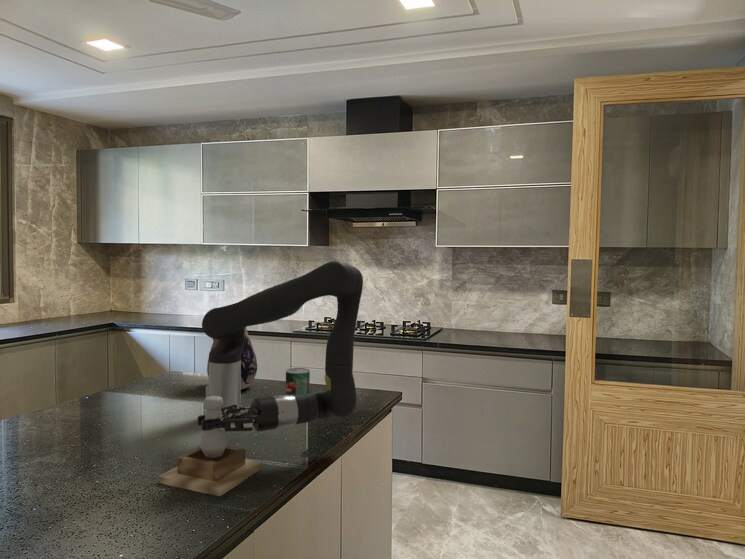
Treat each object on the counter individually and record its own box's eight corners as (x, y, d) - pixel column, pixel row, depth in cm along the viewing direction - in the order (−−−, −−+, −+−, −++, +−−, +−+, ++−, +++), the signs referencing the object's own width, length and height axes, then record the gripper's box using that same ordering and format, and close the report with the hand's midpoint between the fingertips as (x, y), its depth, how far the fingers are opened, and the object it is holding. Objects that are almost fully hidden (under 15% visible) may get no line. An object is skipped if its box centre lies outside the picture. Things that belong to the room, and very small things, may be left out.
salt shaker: (219, 460, 120) (219, 401, 120) (195, 458, 122) (194, 399, 121) (231, 450, 126) (231, 394, 125) (208, 449, 127) (207, 393, 126)
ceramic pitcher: (231, 397, 188) (232, 324, 187) (189, 388, 199) (189, 318, 198) (267, 387, 203) (268, 319, 202) (226, 379, 214) (226, 314, 213)
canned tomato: (314, 402, 184) (314, 369, 184) (298, 408, 178) (299, 374, 177) (295, 398, 188) (296, 366, 188) (280, 404, 182) (280, 370, 181)
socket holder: (158, 483, 120) (158, 460, 119) (205, 457, 134) (205, 437, 134) (220, 496, 114) (220, 472, 113) (262, 468, 129) (262, 447, 128)
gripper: (264, 389, 136) (192, 398, 128) (285, 404, 124) (207, 415, 116) (264, 419, 137) (192, 430, 128) (285, 436, 125) (207, 450, 116)
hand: (200, 423), depth 122 cm, fingers closed on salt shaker, 3 cm apart
